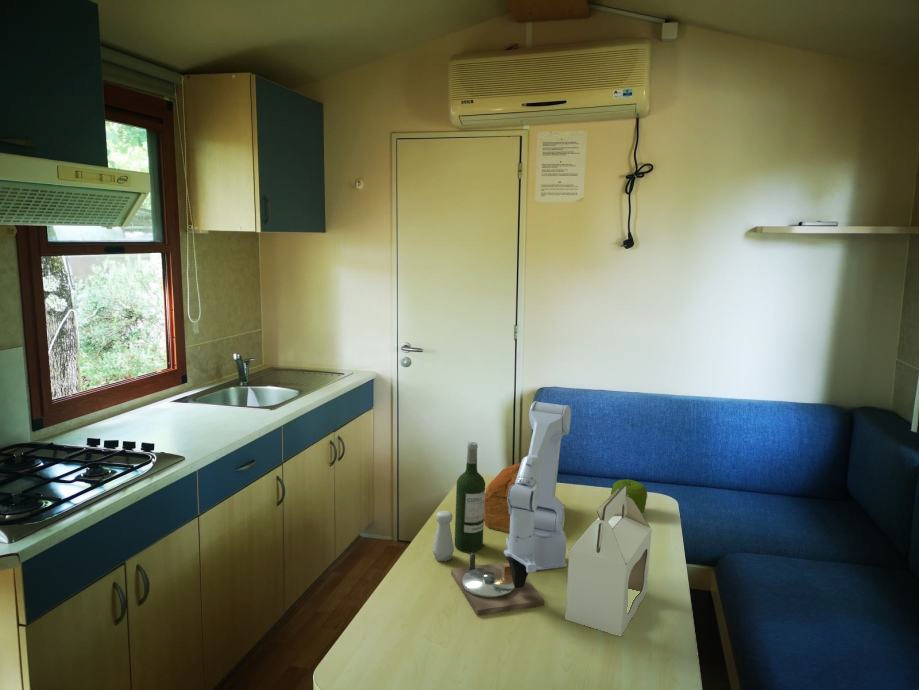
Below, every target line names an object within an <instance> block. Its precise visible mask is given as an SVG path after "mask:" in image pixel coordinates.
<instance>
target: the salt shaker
mask: <svg viewBox="0 0 919 690" xmlns="http://www.w3.org/2000/svg"><path fill="white" fill-rule="evenodd" d="M435 520H436V521H437V524H436V525H437V526H436V531H435V535H434V538H433V539H434V540H433V544H432V554H433V556H434V558H435V560H437V561H438V562H443V561H445V562H448V561H451V558H452V556H453V554H454V552H455V546H454V541H453V534H452V530H451V529H452V528H451V524H450V523H452V521H453V514H452V512H450V511H449V510H440V511H438V512H437V513H436V517H435ZM447 560H448V561H447Z"/></svg>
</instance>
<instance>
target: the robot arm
mask: <svg viewBox="0 0 919 690" xmlns="http://www.w3.org/2000/svg"><path fill="white" fill-rule="evenodd" d="M528 419H529V422H530V423H529V425H530V427H531V430H532V436H531V440H530V445H529V450H528V454H527V455H526V456H524V457H523V458H522V459H521V462H520V463H521V465H520V468H519V471H518V475H517V478H516V481H515V484H514V485H511V486H510V489H509V492H508V499H507V502H508V507H509V514H510V533H508V534H509V535H508V536H509V537H506V541H505V545H506V547H507V549H504V551H503V554H504V555H505V557H506V558H505V559H506V560H507V562H508V563H509V565H510V568H511V573H512V579H513V584H514V586H515V588H521V587H524V584H525V581H526V578H527V579H528V575H529V574H530V573H536V572H537V571H544V570H551V569H552V570H553V569H558V568H566V567H567V563H566V559H567V558H566V556H567V536H566V534H565V531H564V526H565V516H566V515H565V504H564V503H563V502H562V501H561V500H560V499H559V498H558V496H556V490H557V489H556V488H557V480H558V479H557V478H558V471H559V460H560V452H561V442H562V439H563V437H564V436H568V435H569V433H570V430H571V428H570V427H571V420H572V409H571V407H570V406H569V405H568V404H566V405H565V404H555V403H551V402H550V403H549V402H541V401H537V400H534V401H533V403H531V405H530V407H529V414H528Z"/></svg>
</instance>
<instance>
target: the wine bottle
mask: <svg viewBox="0 0 919 690" xmlns="http://www.w3.org/2000/svg"><path fill="white" fill-rule="evenodd" d="M478 447H479V446H478V443H477V442H475V441H469V442H468V443H467V455H466V466H465V467H466V468H465V471H464V472H463V473H462V474H460V475H459V476H458V478H457V480H456V490H455V491H456V494H455V519H454V548H456V549H457V550H458V551H460V552H463V553H476V552H478V551H480V550H481V549H482V548H483V546H484V545H483V544H484V528H485V527H484V525H485V523H484V503H485V492H486V481H485V479H484V477H483V476H482V475H481V473H479V472H478Z"/></svg>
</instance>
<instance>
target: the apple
mask: <svg viewBox="0 0 919 690" xmlns="http://www.w3.org/2000/svg"><path fill="white" fill-rule="evenodd" d="M623 486H626V494H628V496H629V497H631V498H632V499H633V500H634V502H635V503H636V505H637V507H638V508H639V510H640V511H641V513H642V514H643V513H645V509H646V506H647V505H646V504H647V499H648V492H647V491H648V490H647V488H646V486H644V484H642V482H639V481H636V480H632V479H619V480H617V481H615V482H613V484H612V486H611V487H612V488H611V491H610V496H611V495H612V494H613V493H614V491H615V490H616V489H617V488H618V489H619V490H620V489H621V488H622V487H623ZM626 517H627V515H626Z"/></svg>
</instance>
